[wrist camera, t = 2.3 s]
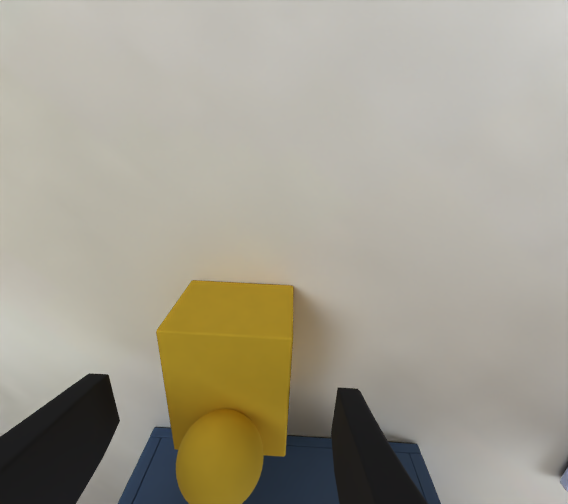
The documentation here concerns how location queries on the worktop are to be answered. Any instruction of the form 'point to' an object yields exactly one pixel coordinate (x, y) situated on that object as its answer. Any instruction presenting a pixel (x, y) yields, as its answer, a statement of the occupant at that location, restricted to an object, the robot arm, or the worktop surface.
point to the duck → (227, 384)
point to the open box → (265, 473)
